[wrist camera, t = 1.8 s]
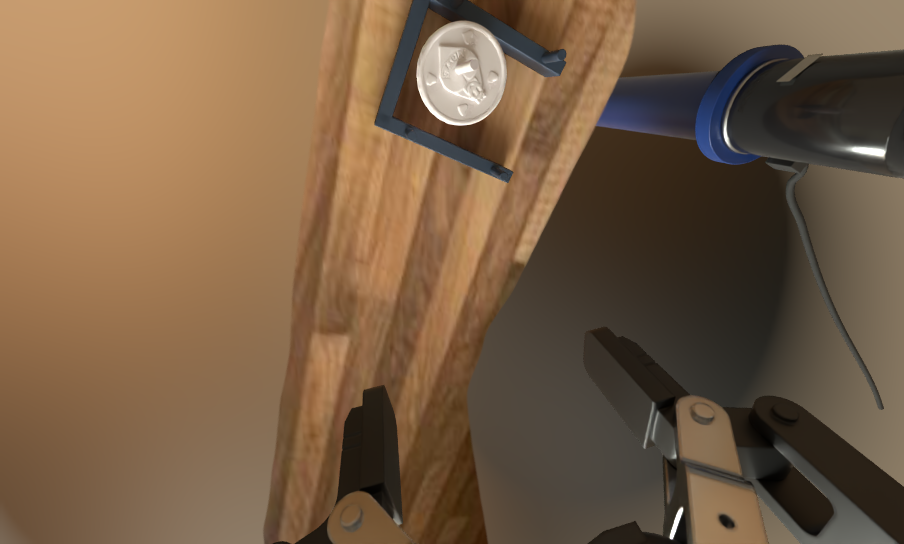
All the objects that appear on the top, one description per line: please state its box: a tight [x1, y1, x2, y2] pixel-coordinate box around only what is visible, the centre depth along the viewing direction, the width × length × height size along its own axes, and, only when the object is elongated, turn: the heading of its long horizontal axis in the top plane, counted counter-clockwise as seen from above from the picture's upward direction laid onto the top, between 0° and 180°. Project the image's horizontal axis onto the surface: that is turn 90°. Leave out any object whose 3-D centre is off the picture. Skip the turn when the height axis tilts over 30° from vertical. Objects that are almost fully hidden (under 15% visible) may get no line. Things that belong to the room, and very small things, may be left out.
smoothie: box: [416, 21, 507, 126], centre depth 26 cm, size 6×6×14 cm
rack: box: [375, 0, 566, 183], centre depth 30 cm, size 14×12×6 cm
